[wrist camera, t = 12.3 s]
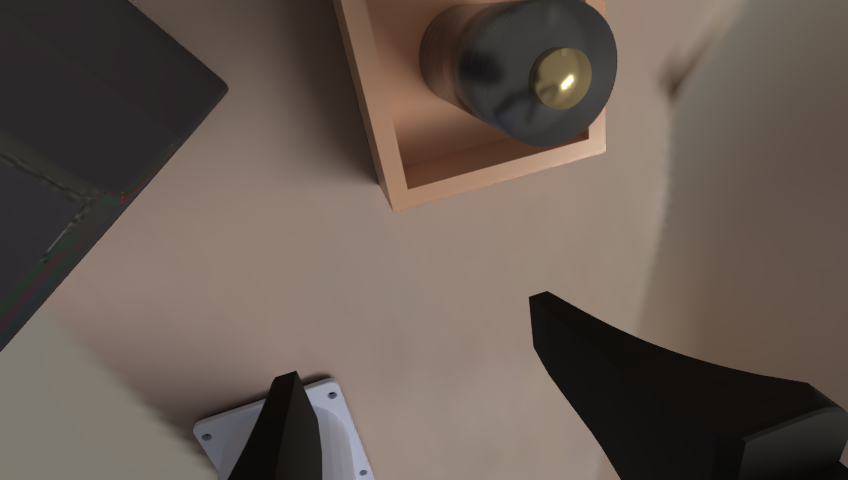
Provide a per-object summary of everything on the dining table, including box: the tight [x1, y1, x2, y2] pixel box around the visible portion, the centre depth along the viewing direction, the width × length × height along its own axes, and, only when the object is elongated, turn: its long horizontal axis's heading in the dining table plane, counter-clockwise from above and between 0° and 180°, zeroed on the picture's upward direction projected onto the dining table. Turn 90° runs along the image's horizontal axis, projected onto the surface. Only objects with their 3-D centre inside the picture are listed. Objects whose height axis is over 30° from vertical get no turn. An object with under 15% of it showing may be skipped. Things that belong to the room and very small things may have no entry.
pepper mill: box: [419, 0, 617, 147], centre depth 16 cm, size 4×4×9 cm
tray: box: [332, 0, 606, 213], centre depth 19 cm, size 10×10×4 cm
